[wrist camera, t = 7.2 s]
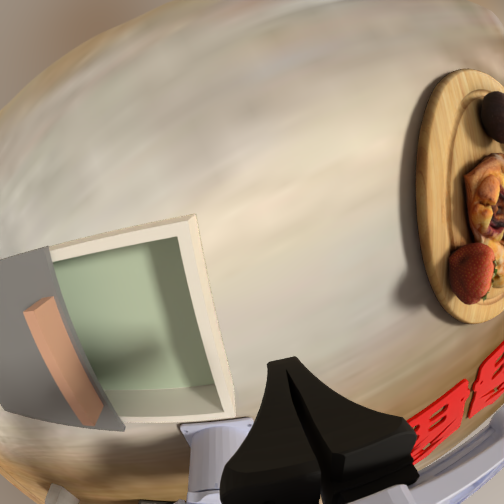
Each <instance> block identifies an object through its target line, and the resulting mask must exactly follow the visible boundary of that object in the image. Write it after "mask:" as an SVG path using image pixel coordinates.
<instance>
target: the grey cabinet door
mask: <svg viewBox="0 0 504 504" xmlns="http://www.w3.org/2000/svg"><path fill="white" fill-rule="evenodd" d="M0 404H1V406H2V407H3V409H4V410H5V411H8V412H11V413H15V414H18V415H22V416H26V417H30V418H34V419H38V420H42V421H47V422H52V423H57V424H63V425H68V426H75V427H82V428H89V429H98V430H109V431H122V432H124V431H125V428H126V427H125V425H124V424H123V422H122V421H121V419H120V417H119V416H118V414H117V413H116V411H115V409H114V408H113V406H112V404H111V402H110V401H109V399H108V397H107V395H106V394H105V392H104V390H103V388H102V386H101V384H100V383H99V381H98V379H97V377H96V375H95V373H94V371H93V369H92V367H91V365H90V363H89V361H88V358H87V356H86V354H85V352H84V350H83V347H82V345H81V343H80V341H79V338H78V336H77V333H76V331H75V328H74V326H73V323H72V321H71V318H70V316H69V313H68V310H67V307H66V305H65V302H64V299H63V296H62V293H61V290H60V286H59V283H58V280H57V277H56V273H55V270H54V266H53V262H52V259H51V255H50V251H49V246H46V247H42V248H39V249H35V250H31V251H28V252H25V253H21V254H18V255H14V256H11V257H8V258H4V259H1V260H0Z"/></svg>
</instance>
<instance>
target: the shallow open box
mask: <svg viewBox="0 0 504 504" xmlns="http://www.w3.org/2000/svg"><path fill="white" fill-rule="evenodd" d="M49 251H50V255H51V259H52V262H53V266H54V270H55V273H56V277H57V280H58V283H59V286H60V290H61V293H62V296H63V299H64V302H65V305H66V307H67V310H68V313H69V316H70V318H71V321H72V323H73V326H74V328H75V331H76V333H77V336H78V338H79V341H80V343H81V345H82V347H83V350H84V352H85V354H86V356H87V358H88V361H89V363H90V365H91V367H92V369H93V371H94V373H95V375H96V377H97V379H98V381H99V383H100V384H101V386H102V388H103V390H104V392H105V394H106V395H107V397H108V399H109V401H110V402H111V404H112V406H113V408H114V409H115V411H116V413H117V414H118V416H119V417H120V419H121V421H122V422H135V423H165V422H189V421H203V420H214V419H223V418H231V417H236V412H235V397H234V383H233V380H232V376H231V372H230V368H229V364H228V360H227V356H226V352H225V348H224V344H223V340H222V336H221V332H220V327H219V323H218V319H217V314H216V310H215V306H214V301H213V297H212V292H211V287H210V283H209V278H208V273H207V268H206V263H205V258H204V253H203V248H202V243H201V238H200V233H199V227H198V222H197V216H196V214H191V215H186V216H181V217H175V218H170V219H165V220H160V221H155V222H151V223H146V224H141V225H136V226H132V227H127V228H123V229H118V230H114V231H110V232H105V233H101V234H97V235H93V236H88V237H84V238H80V239H76V240H72V241H68V242H65V243H61V244H57V245H53V246H49Z"/></svg>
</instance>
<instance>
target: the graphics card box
mask: <svg viewBox="0 0 504 504" xmlns="http://www.w3.org/2000/svg"><path fill="white" fill-rule="evenodd" d="M174 503H175V502H157V501H146V500H139V503H138V504H174Z"/></svg>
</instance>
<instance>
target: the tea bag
mask: <svg viewBox="0 0 504 504" xmlns="http://www.w3.org/2000/svg"><path fill="white" fill-rule="evenodd" d="M79 502H80V500H79V499H77V498H76V497H75V496H73V495H72V494H71V493H70V492H68V491H67V490H66V489H65V488H64V487H62V486H60V485H56V484H53V483H52V484H51V486H50V488H49V491H48V493H47V496H46V499H45V504H79Z"/></svg>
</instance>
